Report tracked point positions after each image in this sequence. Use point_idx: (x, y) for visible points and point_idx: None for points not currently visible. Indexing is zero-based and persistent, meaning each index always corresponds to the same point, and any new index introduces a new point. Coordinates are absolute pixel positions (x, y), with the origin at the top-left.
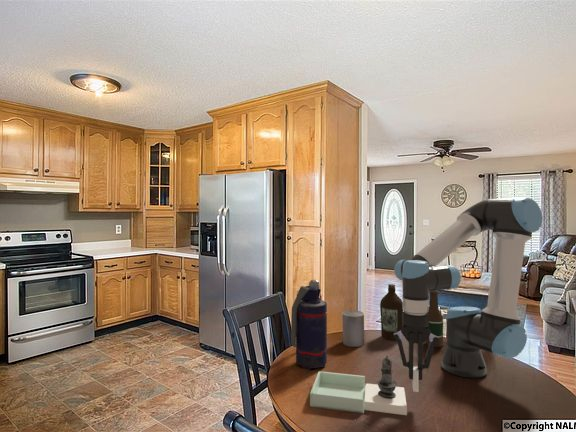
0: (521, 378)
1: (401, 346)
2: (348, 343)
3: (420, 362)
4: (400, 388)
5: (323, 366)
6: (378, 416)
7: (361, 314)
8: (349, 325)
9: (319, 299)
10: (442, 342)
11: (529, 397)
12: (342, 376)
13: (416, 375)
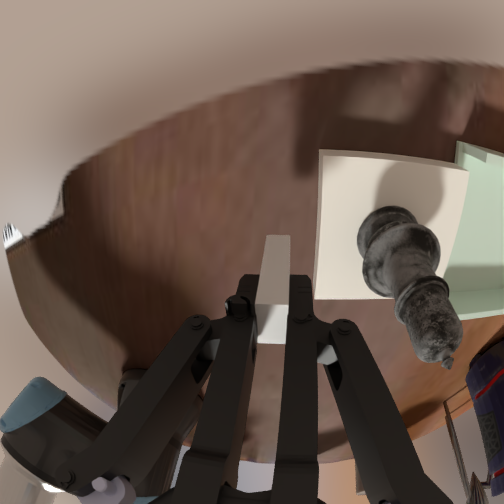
0: (78, 362)
1: (388, 449)
2: None
3: (233, 346)
4: (328, 290)
5: (477, 356)
6: (417, 126)
7: (363, 492)
8: None
9: (470, 495)
10: None
11: (52, 309)
12: (488, 307)
13: (270, 282)
